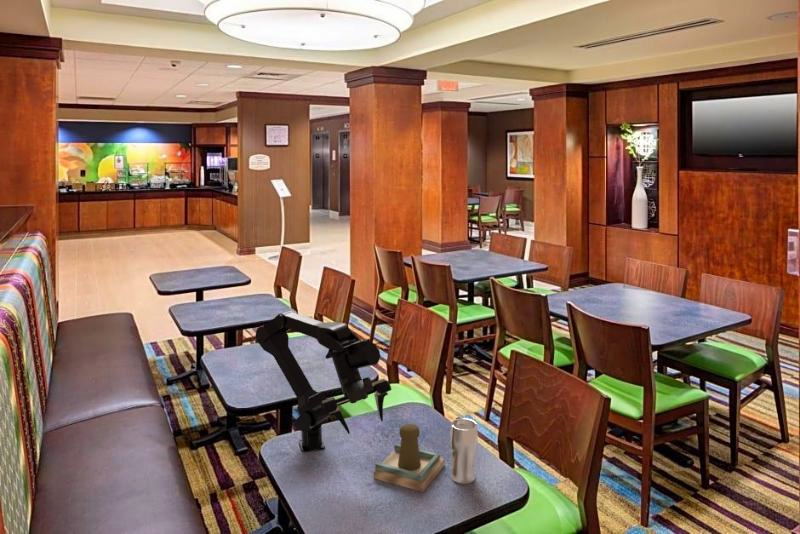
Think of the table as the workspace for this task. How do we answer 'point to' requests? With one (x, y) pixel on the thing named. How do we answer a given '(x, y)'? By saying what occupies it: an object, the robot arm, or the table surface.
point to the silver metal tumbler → (463, 449)
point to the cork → (409, 448)
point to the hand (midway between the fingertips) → (365, 427)
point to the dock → (406, 478)
